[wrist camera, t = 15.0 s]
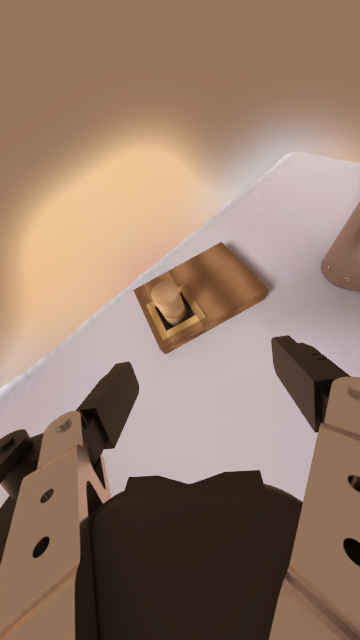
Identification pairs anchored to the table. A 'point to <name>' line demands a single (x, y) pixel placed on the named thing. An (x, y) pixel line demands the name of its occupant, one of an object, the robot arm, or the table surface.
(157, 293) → the pin
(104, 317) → the table surface
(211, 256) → the pin board
